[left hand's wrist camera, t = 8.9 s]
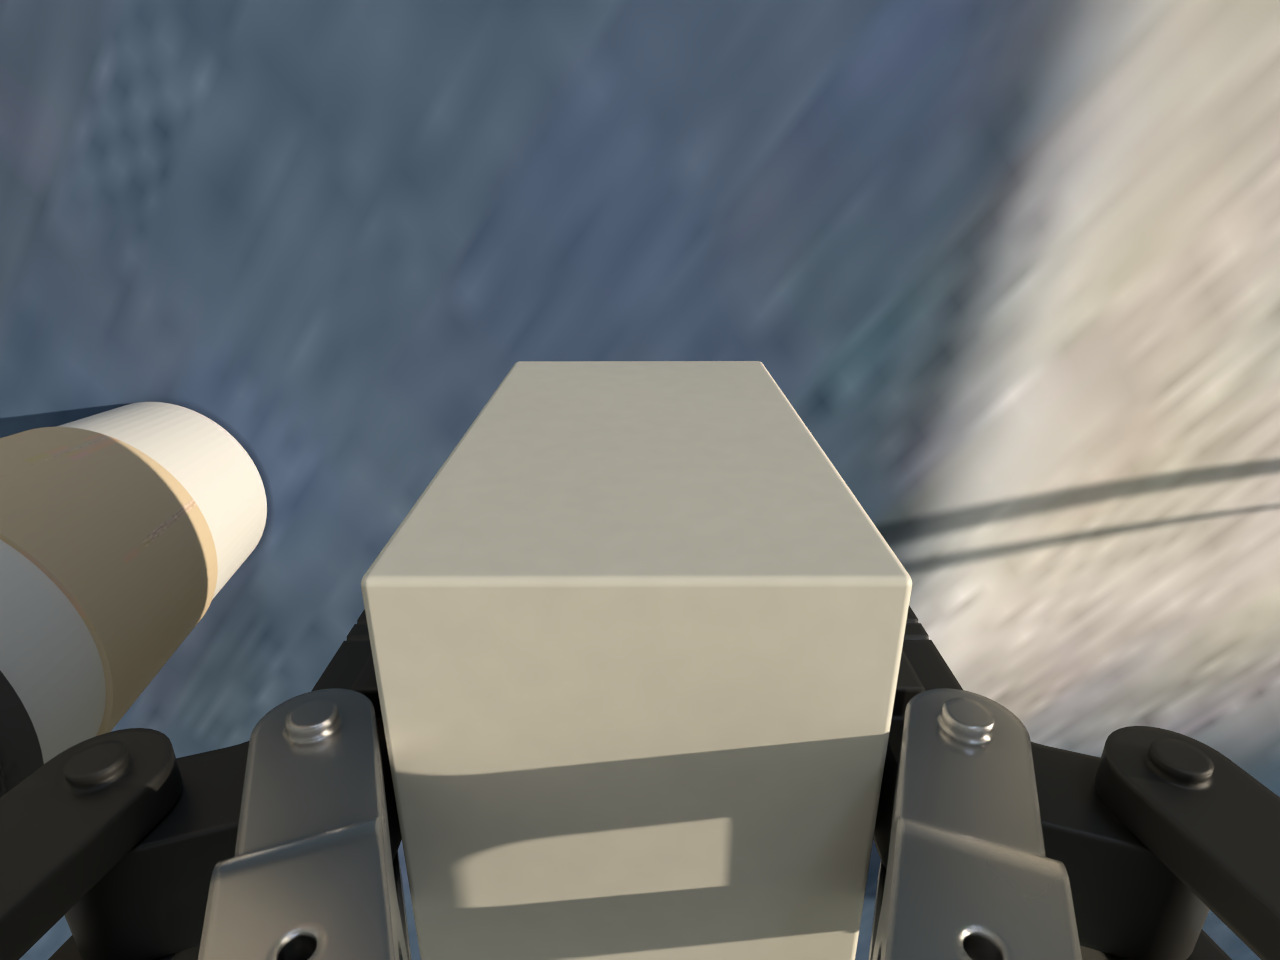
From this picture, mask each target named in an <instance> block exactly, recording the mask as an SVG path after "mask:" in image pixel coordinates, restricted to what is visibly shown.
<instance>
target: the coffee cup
mask: <svg viewBox="0 0 1280 960" xmlns="http://www.w3.org/2000/svg"><path fill="white" fill-rule="evenodd" d="M266 516H267V502H266V495H265V490H264V486H263V483H262V480H261V477H260V475H259V472H258V470H257V468H256V466H255V465H254V463H253V461H252V459H251V458H250V456H249V455H248V454H247V452H246V451H245V450H244V448H243V447H242V446H241V445H240V444H239V442H238V441H237V440H236V439H235V438H234V437H233V436H232V435H230V434H229V433H228V432H227V431H226V430H225V429H223V428H222V427H221V426H219V425H218V424H217V423H215V422H214V421H212V420H210V419H209V418H207V417H205V416H203V415H201V414H199V413H197V412H195V411H193V410H190V409H187V408H184V407H181V406H178V405H173V404H169V403H162V402H139V403H133V404H129V405H125V406H122V407H118V408H115V409H112V410H109V411H105V412H102V413H99V414H96V415H92V416H89V417H86V418H83V419H79V420H76V421H73V422H70V423H66V424H63V425H60V426H57V427H43V428H36V429H31V430H27V431H23V432H20V433H17V434H13V435H10V436H7V437H3V438H0V797H2V796H3V795H4V794H6V793H7V792H8V791H10V790H11V789H12V788H14V787H15V786H16V785H18V784H19V783H20V782H22V781H23V780H24V779H25V778H27V777H28V776H29V775H31V774H32V773H33V772H35V771H36V770H37V769H39V768H40V767H41V766H43V765H44V764H45V763H47V762H48V761H49V760H51V759H52V758H54V757H55V756H57V755H58V754H60V753H61V752H63V751H65V750H67V749H68V748H70V747H72V746H74V745H76V744H78V743H81V742H83V741H85V740H88V739H90V738H93V737H95V736H99V735H102V734H105V733H109V732H111V730H112V729H113V728H114V727H115V725H116V724H117V723H118V722H119V720H120V719H121V718H122V717H123V715H124V714H125V713H126V712H127V710H128V709H129V708H130V707H131V705H132V704H133V703H134V702H135V700H136V699H137V698H138V697H139V696H140V694H141V693H142V692H143V691H144V689H145V688H146V687H147V686H148V684H149V683H150V682H151V681H152V679H153V678H154V677H155V676H156V674H157V673H158V672H159V671H160V669H161V668H162V667H163V666H164V664H165V663H166V662H167V661H168V659H169V658H170V657H171V656H172V654H173V653H174V652H175V651H176V649H177V648H178V647H179V646H180V645H181V643H182V642H183V641H184V640H185V638H186V637H187V636H188V635H189V633H190V632H191V631H192V630H193V628H194V627H195V626H196V625H197V623H198V622H199V621H200V620H201V618H202V617H203V616H204V614H205V613H206V611H207V609H208V607H209V605H210V603H211V601H212V599H213V598H214V597H215V596H216V594H217V593H218V592H219V591H220V590H221V588H222V587H223V586H224V585H225V584H226V582H227V581H228V580H229V579H230V578H231V576H232V575H233V574H234V573H235V572H236V570H237V569H238V568H239V567H240V566H241V564H242V563H243V562H244V561H245V560H246V558H247V557H248V556H249V555H250V554H251V552H252V551H253V550H254V549H255V547H256V546H257V544H258V542H259V540H260V538H261V536H262V534H263V531H264V527H265V523H266Z"/></svg>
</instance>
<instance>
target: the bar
mask: <svg viewBox="0 0 1280 960" xmlns="http://www.w3.org/2000/svg"><path fill="white" fill-rule="evenodd" d="M361 588H362V594H363V600H364V606H365V613H366V619H367V625H368V631H369V637H370V644H371V650H372V656H373V662H374V669H375V675H376V681H377V687H378V694H379V700H380V706H381V712H382V718H383V725H384V731H385V737H386V743H387V750H388V756H389V762H390V768H391V775H392V781H393V787H394V793H395V799H396V806H397V812H398V818H399V824H400V831H401V837H402V843H403V849H404V856H405V862H406V868H407V874H408V880H409V887H410V893H411V899H412V905H413V912H414V918H415V924H416V930H417V937H418V943H419V949H420V955H421V960H855V954H856V948H857V941H858V934H859V928H860V921H861V915H862V908H863V902H864V895H865V889H866V882H867V876H868V869H869V862H870V856H871V849H872V843H873V836H874V830H875V823H876V817H877V810H878V804H879V797H880V790H881V784H882V777H883V771H884V764H885V758H886V751H887V745H888V738H889V732H890V725H891V719H892V712H893V705H894V699H895V692H896V686H897V679H898V673H899V666H900V660H901V653H902V647H903V640H904V633H905V627H906V620H907V614H908V607H909V601H910V594H911V588H912V581H911V578H910V576H909V574H908V573H907V571H906V570H905V568H904V567H903V565H902V564H901V563H900V561H899V560H898V558H897V557H896V555H895V554H894V552H893V551H892V550H891V548H890V547H889V545H888V544H887V542H886V541H885V539H884V538H883V537H882V535H881V534H880V532H879V531H878V529H877V528H876V526H875V525H874V524H873V522H872V521H871V519H870V518H869V516H868V515H867V514H866V512H865V511H864V509H863V508H862V506H861V505H860V503H859V502H858V501H857V499H856V498H855V496H854V495H853V493H852V492H851V490H850V489H849V488H848V486H847V485H846V483H845V482H844V480H843V479H842V477H841V476H840V475H839V473H838V472H837V470H836V469H835V467H834V466H833V464H832V463H831V462H830V460H829V459H828V457H827V456H826V454H825V453H824V452H823V450H822V449H821V447H820V446H819V444H818V443H817V441H816V440H815V439H814V437H813V436H812V434H811V433H810V431H809V430H808V428H807V427H806V426H805V424H804V423H803V421H802V420H801V418H800V417H799V415H798V414H797V413H796V411H795V410H794V408H793V407H792V405H791V404H790V402H789V401H788V400H787V398H786V397H785V395H784V394H783V392H782V391H781V390H780V388H779V387H778V385H777V384H776V382H775V381H774V379H773V378H772V377H771V375H770V374H769V372H768V371H767V369H766V368H765V366H764V365H763V364H762V362H759V361H604V362H517V363H515V365H514V366H513V367H512V369H511V370H510V372H509V373H508V374H507V376H506V377H505V379H504V380H503V381H502V383H501V384H500V386H499V387H498V388H497V390H496V391H495V393H494V394H493V395H492V397H491V398H490V400H489V401H488V402H487V404H486V405H485V407H484V408H483V409H482V411H481V412H480V414H479V415H478V416H477V418H476V419H475V421H474V422H473V423H472V425H471V426H470V428H469V429H468V430H467V432H466V433H465V435H464V436H463V437H462V439H461V440H460V442H459V443H458V444H457V446H456V447H455V449H454V450H453V451H452V453H451V454H450V456H449V457H448V458H447V460H446V461H445V463H444V464H443V466H442V467H441V468H440V470H439V471H438V473H437V474H436V475H435V477H434V478H433V480H432V481H431V482H430V484H429V485H428V487H427V488H426V489H425V491H424V492H423V494H422V495H421V496H420V498H419V499H418V501H417V502H416V503H415V505H414V506H413V508H412V509H411V510H410V512H409V513H408V515H407V516H406V517H405V519H404V520H403V522H402V523H401V524H400V526H399V527H398V529H397V530H396V531H395V533H394V534H393V536H392V537H391V538H390V540H389V541H388V543H387V544H386V545H385V547H384V548H383V550H382V551H381V552H380V554H379V555H378V557H377V558H376V559H375V561H374V562H373V564H372V565H371V566H370V568H369V569H368V571H367V572H366V573H365V575H364V576H363V578H362V582H361Z"/></svg>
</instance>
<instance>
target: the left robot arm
mask: <svg viewBox="0 0 1280 960" xmlns="http://www.w3.org/2000/svg"><path fill="white" fill-rule="evenodd" d="M873 839H874V842H875V845H876V847H877V850H878V853H879V856H880V858H881V862H880V868H879V875H878V883H877V892H876V901H875V909H874V918H873V927H872V935H871V944H870V953H869V960H1232V959H1231V958H1230V957H1229V956H1228V955H1227V954H1226V953H1225V952H1224V951H1223V950H1222V949H1221V948H1220V947H1219V946H1218V945H1217V944H1216V943H1215V942H1214V941H1213V940H1212V939H1211V938H1210V937H1209V936H1208V935H1207V934H1206V933H1205V932H1204V931H1203V930H1202V927H1203V924H1204V922H1205V920H1206V917H1207V915H1208V912H1209V910H1211V911H1212V912H1213V913H1214V914H1215V915H1216V916H1217V917H1218V918H1219V919H1220V920H1221V921H1222V922H1223V923H1224V924H1225V925H1227V926H1228V927H1229V928H1230V929H1231V930H1232V931H1233V932H1234V933H1235V934H1236V935H1237V936H1238V937H1239V938H1240V939H1241V940H1242V941H1243V942H1244V943H1245V944H1246V945H1247V946H1248V947H1249V948H1250V949H1251V950H1252V951H1253V952H1254V953H1255V954H1256V955H1257V956H1258V957H1259V958H1260V959H1261V960H1280V797H1278V796H1277V795H1276V794H1274V793H1273V792H1272V791H1270V790H1269V789H1268V788H1266V787H1265V786H1264V785H1262V784H1261V783H1260V782H1258V781H1257V780H1256V779H1255V778H1253V777H1252V776H1251V775H1249V774H1248V773H1247V772H1245V771H1244V770H1243V769H1241V768H1240V767H1239V766H1237V765H1236V764H1235V763H1233V762H1232V761H1231V760H1229V759H1228V758H1227V757H1225V756H1224V755H1222V754H1221V753H1219V752H1218V751H1216V750H1214V749H1213V748H1211V747H1209V746H1207V745H1205V744H1203V743H1201V742H1199V741H1197V740H1195V739H1193V738H1190V737H1187V736H1185V735H1182V734H1179V733H1176V732H1173V731H1169V730H1165V729H1160V728H1155V727H1147V726H1131V727H1125V728H1121V729H1118V730H1116V731H1114V732H1113V733H1111V734H1110V735H1109V736H1108V738H1107V740H1106V743H1105V746H1104V750H1103V753H1102V756H1101V758H1099V757H1095V756H1090V755H1085V754H1081V753H1076V752H1072V751H1067V750H1062V749H1058V748H1053V747H1049V746H1044V745H1041V744H1037V743H1033V742H1031V741H1030V737H1029V733H1028V731H1027V729H1026V728H1025V726H1024V725H1023V723H1022V722H1021V721H1020V720H1019V719H1018V718H1017V717H1016V716H1015V715H1014V714H1013V713H1012V712H1011V711H1009V710H1008V709H1007V708H1005V707H1004V706H1002V705H1000V704H999V703H997V702H995V701H993V700H991V699H989V698H987V697H984V696H981V695H979V694H976V693H972V692H968V691H964V690H963V689H962V687H961V686H960V684H959V683H958V681H957V680H956V678H955V676H954V675H953V673H952V672H951V670H950V669H949V667H948V666H947V664H946V662H945V661H944V659H943V658H942V656H941V655H940V653H939V651H938V650H937V648H936V647H935V645H934V644H933V642H932V640H929V638H928V634H927V633H926V631H925V629H924V628H923V626H922V625H921V623H918V619H917V617H916V615H915V614H914V612H913V611H912V609H911V608H910V606H909V607H908V614H907V620H906V627H905V633H904V640H903V647H902V653H901V660H900V666H899V673H898V679H897V686H896V692H895V699H894V705H893V712H892V719H891V725H890V732H889V738H888V745H887V751H886V758H885V764H884V771H883V777H882V784H881V790H880V797H879V804H878V810H877V817H876V823H875V830H874V836H873ZM401 840H402V837H401V831H400V824H399V818H398V812H397V806H396V799H395V793H394V787H393V781H392V775H391V768H390V762H389V756H388V750H387V743H386V737H385V731H384V725H383V718H382V712H381V706H380V700H379V694H378V687H377V681H376V675H375V669H374V662H373V656H372V650H371V644H370V637H369V631H368V625H367V619H366V613H365V609H364V611H363V612H362V614H361V616H360V617H359V619H358V620H357V624H355V625H354V626H353V628H352V629H351V631H350V633H349V634H348V636H347V641H344V642H343V643H342V645H341V646H340V648H339V650H338V651H337V653H336V654H335V656H334V657H333V659H332V660H331V662H330V663H329V665H328V667H327V668H326V670H325V671H324V673H323V674H322V676H321V677H320V679H319V680H318V682H317V683H316V685H315V687H314V688H313V690H312V691H311V692H308V693H304V694H301V695H299V696H296V697H293V698H291V699H289V700H287V701H285V702H283V703H281V704H280V705H278V706H276V707H275V708H273V709H272V710H271V711H269V712H268V713H267V714H266V715H265V716H264V717H263V718H262V719H261V720H260V721H259V722H258V723H257V725H256V726H255V728H254V729H253V731H252V733H251V737H250V741H248V742H245V743H242V744H239V745H235V746H231V747H227V748H223V749H218V750H213V751H209V752H204V753H200V754H195V755H190V756H186V757H181V758H177V759H176V757H175V754H174V750H173V747H172V744H171V742H170V740H169V738H168V737H167V736H166V735H165V734H163V733H161V732H159V731H156V730H152V729H144V728H132V729H124V730H117V731H113V732H109V733H105V734H102V735H99V736H95V737H93V738H90V739H88V740H85V741H83V742H81V743H78V744H76V745H74V746H72V747H70V748H68V749H67V750H65V751H63V752H61V753H60V754H58V755H57V756H55V757H54V758H52V759H51V760H49V761H48V762H47V763H45V764H44V765H43V766H41V767H40V768H39V769H37V770H36V771H35V772H33V773H32V774H31V775H29V776H28V777H27V778H25V779H24V780H23V781H22V782H20V783H19V784H18V785H16V786H15V787H14V788H12V789H11V790H10V791H8V792H7V793H6V794H4V795H3V796H2V797H0V960H19V959H20V958H21V957H22V956H23V955H24V954H25V953H26V952H27V951H28V950H29V949H30V948H31V947H32V946H33V945H34V944H35V943H36V942H37V941H38V940H39V939H40V938H41V937H42V936H43V935H44V934H45V933H46V932H47V931H48V930H49V929H50V928H51V927H52V926H53V925H54V924H56V923H57V922H58V921H59V920H60V919H61V918H62V917H63V916H64V915H65V918H66V920H67V922H68V925H69V927H70V930H71V932H72V936H71V937H70V938H69V939H68V940H67V941H66V942H65V943H64V944H63V945H62V946H61V947H60V948H59V949H58V950H57V951H56V952H55V953H54V954H53V955H52V956H51V957H50V958H49V959H48V960H411V953H410V944H409V935H408V927H407V918H406V909H405V901H404V892H403V883H402V874H401V868H400V862H399V856H398V848H399V845H400V842H401Z"/></svg>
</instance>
